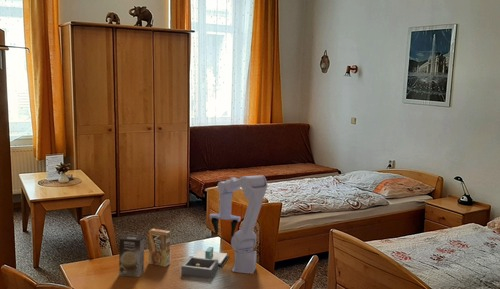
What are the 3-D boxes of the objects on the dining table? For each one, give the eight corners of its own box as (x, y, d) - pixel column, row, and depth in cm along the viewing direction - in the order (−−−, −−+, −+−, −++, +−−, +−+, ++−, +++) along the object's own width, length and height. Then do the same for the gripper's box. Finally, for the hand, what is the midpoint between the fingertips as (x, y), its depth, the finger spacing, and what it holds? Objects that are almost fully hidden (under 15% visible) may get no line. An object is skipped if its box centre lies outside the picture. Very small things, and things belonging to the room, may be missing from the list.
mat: (229, 256, 221) (229, 256, 221) (222, 267, 208) (222, 266, 208) (197, 253, 224) (197, 252, 224) (188, 263, 212) (188, 262, 211)
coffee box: (118, 275, 196) (118, 238, 193) (123, 269, 202) (123, 233, 200) (139, 277, 195) (139, 240, 192) (144, 271, 201) (144, 235, 199)
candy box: (170, 263, 210) (170, 230, 208) (165, 267, 206) (166, 233, 204) (153, 260, 213) (153, 228, 211) (148, 263, 209) (148, 230, 207)
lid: (227, 256, 220) (227, 246, 220) (220, 266, 209) (220, 255, 208) (198, 253, 223) (198, 243, 222) (190, 262, 211) (190, 252, 211)
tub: (217, 268, 207) (218, 260, 206) (210, 278, 196) (211, 269, 196) (189, 265, 209) (190, 256, 209) (181, 275, 199) (181, 266, 198)
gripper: (242, 205, 221) (241, 233, 223) (212, 202, 224) (212, 230, 226) (239, 209, 214) (238, 238, 216) (208, 206, 217) (207, 234, 219)
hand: (224, 234), depth 221 cm, fingers open, 7 cm apart
